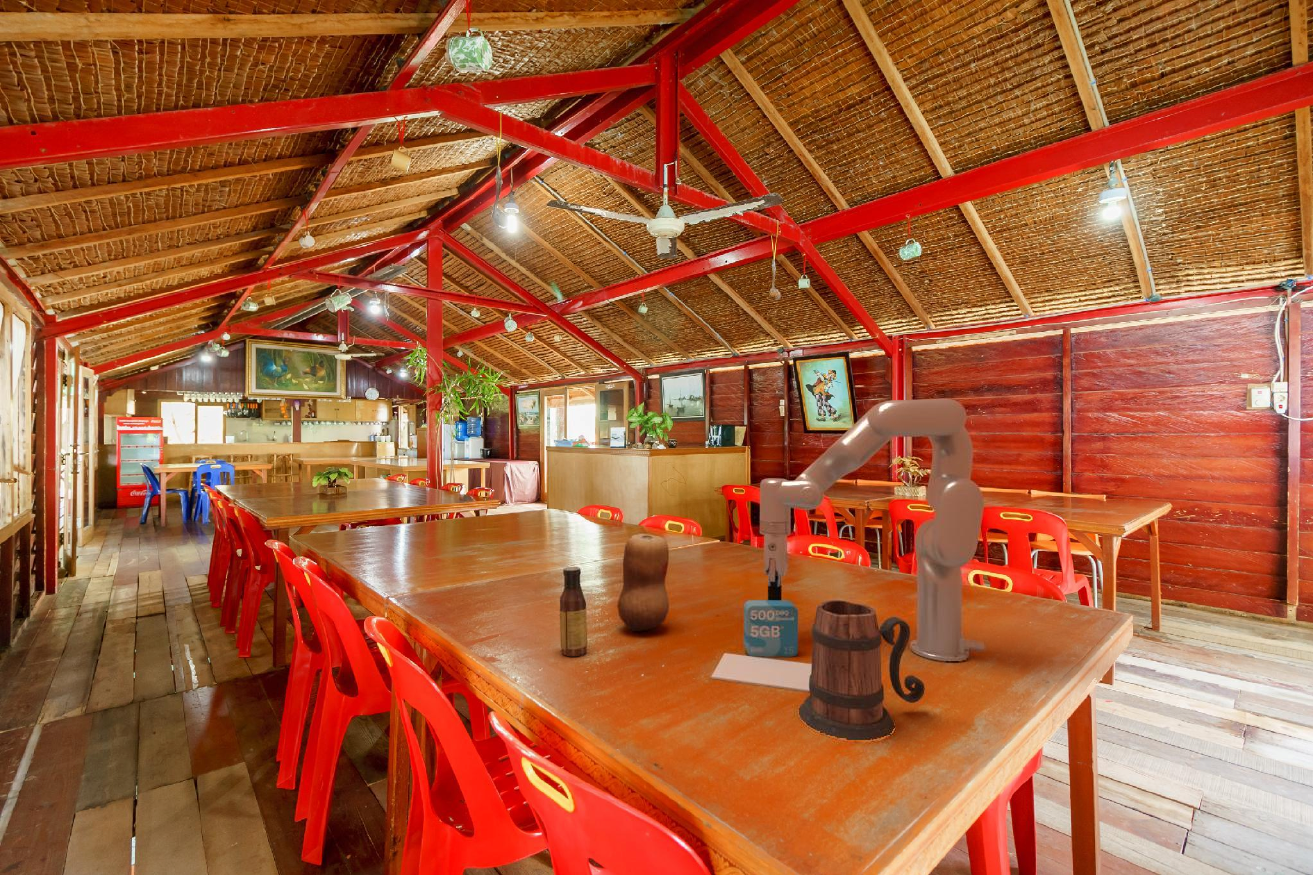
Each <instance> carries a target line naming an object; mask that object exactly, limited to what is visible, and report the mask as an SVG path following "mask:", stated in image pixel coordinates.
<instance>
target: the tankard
mask: <svg viewBox="0 0 1313 875" xmlns="http://www.w3.org/2000/svg"><path fill="white" fill-rule="evenodd" d="M897 625H899V633H898V637H897V638H896V641H895V640H894V639H895V629H894V628H895V627H896V626H897ZM910 636H911V629H910V626H909V624H908V622H906V621H905V620H903V619H902V618H899V617H897V616H891V617H888V618H886V619H885V620H884V622H883V623H882V624H881V625H880V626H879V623H878V618H877V611H876V610H875V609H874V608H872V607H871V606H868V605H865V604H861V603H854V602H850V601H846V600H839V599H837V600H835V599H834V600H833V599H832V600H826V601H823V602H821V603H820V604H818V605H817V606H816V612H815V618H814V623H813V624H812V626H811V637H812V648H811V651H812V653H811V664H812V668H811V675H810V678H809V690H810V691H809V695H808V696H807V697H806V698H805V700H804V701H803V703H802V704H800V705H799V707H800V708H799V707H798V709H799V715H800V717H801V719H802V720H803V721H804V722H806V724H807V725H808V726H810V727H811V728H813V729H815V730H817V731H820V733H825V734H826V735H830V736H835V737H837V738H846V739H847V740H871V739H872V740H873V739H877V738H881V737H884V736H887V735H891V734H890V733H892V731H893V729H894V728H895V725H896V724H895V725H894V722H895V721H894V719H893V718H892V717H891V716H890V713H889V712H888V710H887V709H886V707H885V706H884V704H883V701H884V699H885V693H884V692H885V690H884V684H883V683H882V661H881V660H882V658H881V644H882V639H883V640H884V641H885V642H886V643H887V644H889V645H891V646H893V647H892V650H891V652H890V657H889V663H888V664H889V665H888V670H889V671H888V672H889V678H890V682H891V687H892V689H893V691H894V692H895V693H896V694H897V696H898V697H900V699H902V700H903V701H905V702H907V703H912V704H914V703H917V702H918V701H920V700H921V699H922V698H923V696H924V695H925V684H924V682H923V681H922V680H921V679H919V678H918V677H916V676H915V675H907V676H906V677H905V678H904V684H903V685H904V687H905V688H906V690H908V692H909V693H905V692H904V690H903V688H902V684H901V678H900V665H901V659H902V656H903V653H904V652H905V650H906V647H907V645H908V644H909V640H910ZM913 685H914V686H913ZM892 719H893V720H892ZM893 721H894V722H893Z"/></svg>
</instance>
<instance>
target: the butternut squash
mask: <svg viewBox="0 0 1313 875" xmlns="http://www.w3.org/2000/svg"><path fill="white" fill-rule="evenodd" d="M669 552H670V551H669V546H668V542H667V540H666V539H665V538H663V537H661V536H657V535H653V534H647V533H639V534H634V535H632V536H630V537H629V538H628V539H627V541H626V543H625V545H624V552H623V559H622V571H623V572H622V574H623V575H622V579H623V583H622V584H623V585H622V590H621V592H620V594H619V597H618V601H617V605H616V607H617V611H618V617H619V618H620V620H621V621H622V622H623V623H624V625H626V627H627V628H629V629H630V630H632V631H633V632H647V631H652V630H654V629H656V627H658V626H660V625H661V624H663V623H664V621H665V620H666V618H667V615H668V613H669V608H670V607H669V606H670V603H669V602H670V601H669V597H668V592H667V589H666V577H667V571H668V567H669V559H670V555H669Z"/></svg>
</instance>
